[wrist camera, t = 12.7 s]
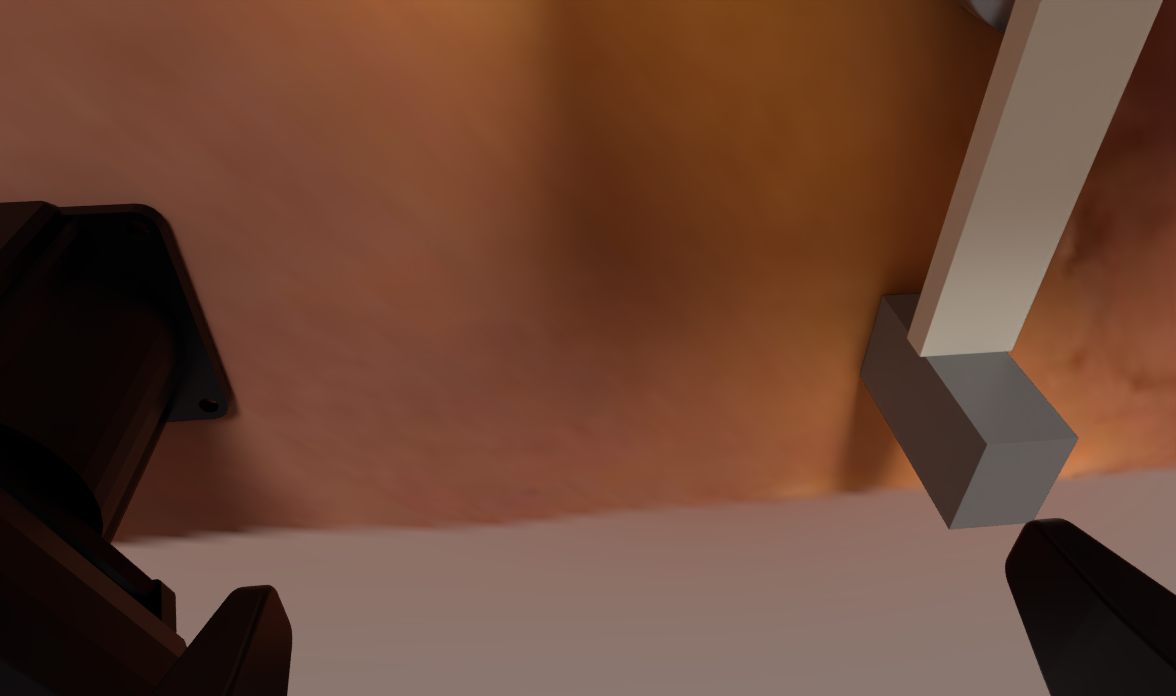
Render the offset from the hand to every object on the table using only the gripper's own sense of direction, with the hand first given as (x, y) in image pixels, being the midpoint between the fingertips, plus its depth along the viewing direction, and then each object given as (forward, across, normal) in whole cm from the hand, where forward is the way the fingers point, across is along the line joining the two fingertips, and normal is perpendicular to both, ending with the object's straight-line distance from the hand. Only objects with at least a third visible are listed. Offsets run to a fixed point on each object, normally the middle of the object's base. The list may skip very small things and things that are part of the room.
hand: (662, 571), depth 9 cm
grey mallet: (+12, -10, 0) cm, 16 cm away
